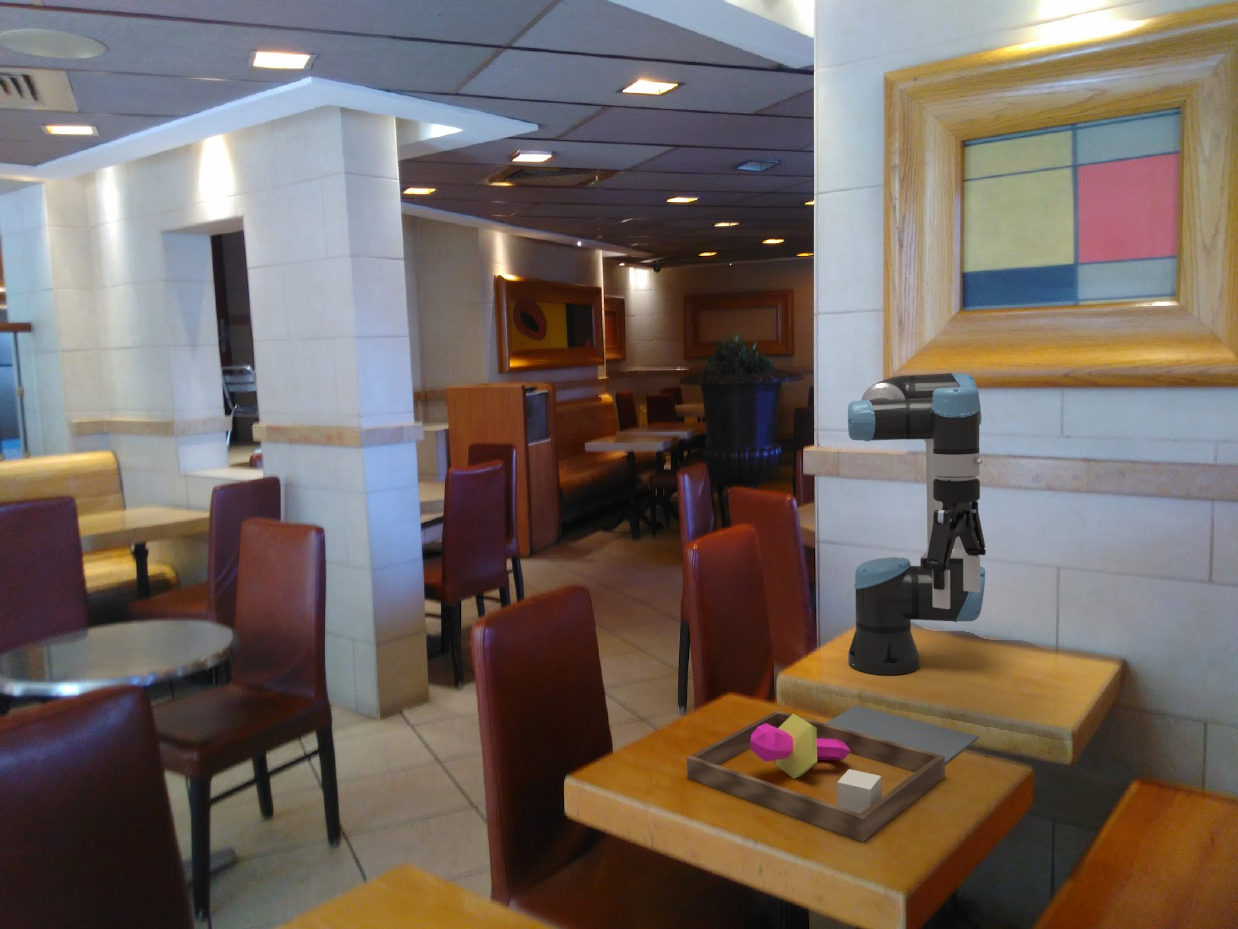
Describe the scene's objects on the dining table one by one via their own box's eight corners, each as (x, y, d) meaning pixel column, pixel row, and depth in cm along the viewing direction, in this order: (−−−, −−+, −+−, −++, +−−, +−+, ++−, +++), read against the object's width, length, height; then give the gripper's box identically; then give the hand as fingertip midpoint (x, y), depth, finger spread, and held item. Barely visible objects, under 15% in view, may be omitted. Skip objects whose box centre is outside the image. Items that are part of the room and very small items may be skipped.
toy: (862, 783, 146) (859, 717, 150) (767, 773, 139) (767, 704, 143) (824, 784, 154) (822, 722, 158) (733, 775, 148) (734, 710, 152)
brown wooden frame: (687, 778, 149) (686, 757, 148) (777, 728, 167) (777, 710, 167) (863, 842, 126) (862, 818, 126) (944, 777, 145) (944, 756, 144)
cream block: (837, 814, 135) (837, 782, 134) (849, 800, 139) (849, 769, 138) (870, 822, 132) (870, 789, 131) (881, 807, 136) (881, 776, 136)
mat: (805, 736, 163) (805, 734, 163) (856, 707, 176) (856, 705, 176) (932, 774, 146) (932, 771, 146) (978, 738, 159) (978, 736, 159)
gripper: (949, 487, 143) (950, 618, 145) (1004, 471, 161) (1004, 587, 163) (903, 484, 148) (905, 611, 150) (962, 469, 166) (962, 582, 168)
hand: (957, 599), depth 156 cm, fingers open, 13 cm apart
